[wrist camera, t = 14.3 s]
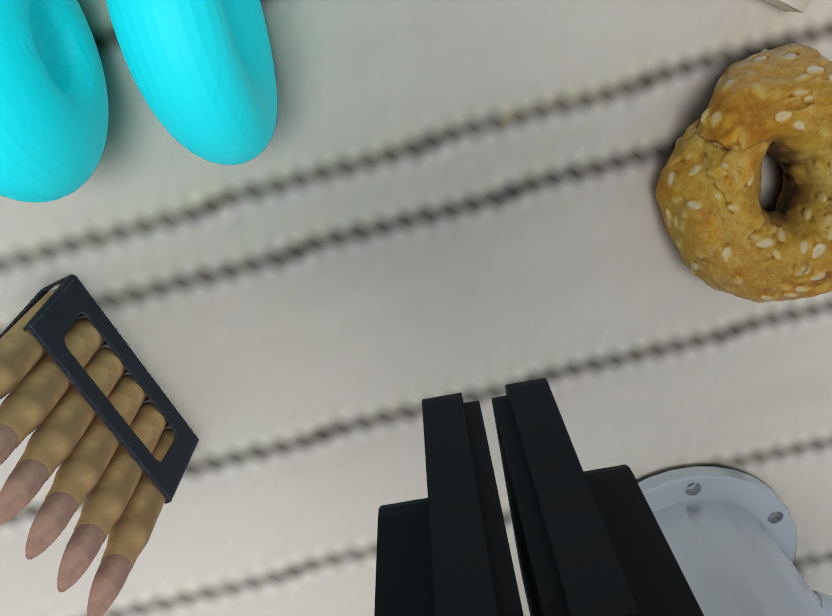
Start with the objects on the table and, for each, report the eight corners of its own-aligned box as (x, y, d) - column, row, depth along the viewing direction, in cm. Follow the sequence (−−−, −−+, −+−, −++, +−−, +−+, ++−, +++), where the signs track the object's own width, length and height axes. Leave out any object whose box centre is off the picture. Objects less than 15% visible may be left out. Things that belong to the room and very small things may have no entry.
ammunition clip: (40, 289, 34) (-121, 439, 23) (73, 272, 33) (-75, 417, 23) (169, 454, 38) (85, 646, 27) (199, 440, 38) (126, 629, 27)
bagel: (886, 31, 31) (969, 41, 26) (842, 268, 35) (906, 310, 31) (655, 52, 31) (700, 66, 26) (642, 287, 35) (678, 331, 31)
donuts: (297, 126, 31) (263, 189, 22) (75, 170, 31) (-48, 249, 22) (230, -139, 27) (154, -196, 18) (-26, -85, 27) (-228, -113, 18)
